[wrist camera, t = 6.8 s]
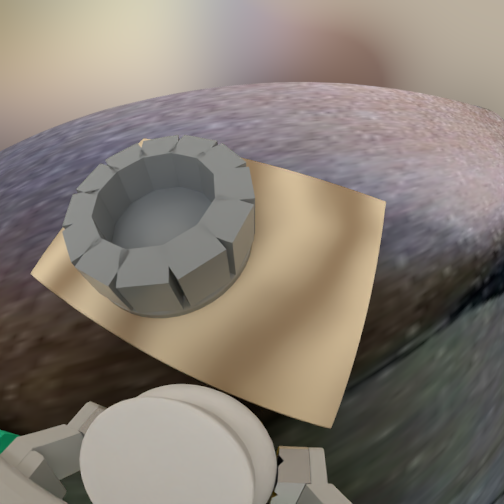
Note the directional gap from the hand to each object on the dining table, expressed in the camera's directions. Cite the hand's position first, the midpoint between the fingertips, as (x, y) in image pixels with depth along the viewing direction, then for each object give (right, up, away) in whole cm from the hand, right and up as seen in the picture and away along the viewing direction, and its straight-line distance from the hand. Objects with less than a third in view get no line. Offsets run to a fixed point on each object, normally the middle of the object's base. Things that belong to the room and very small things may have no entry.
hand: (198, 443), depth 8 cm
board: (-1, +7, +11) cm, 13 cm away
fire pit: (-4, +8, +10) cm, 13 cm away
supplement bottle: (0, -4, +4) cm, 6 cm away
